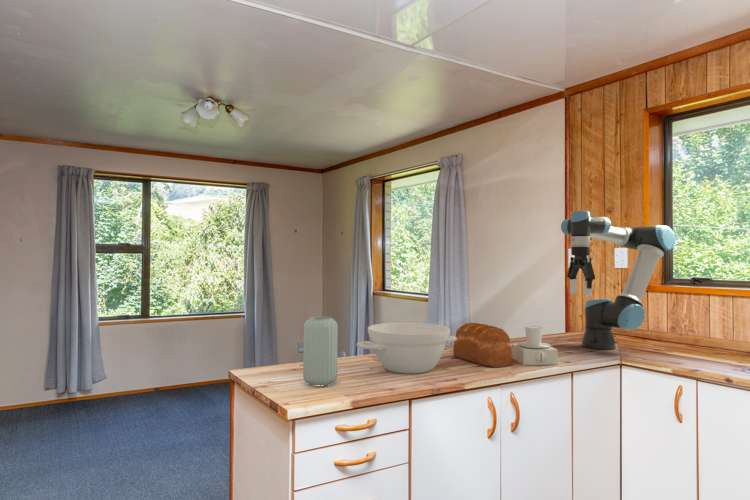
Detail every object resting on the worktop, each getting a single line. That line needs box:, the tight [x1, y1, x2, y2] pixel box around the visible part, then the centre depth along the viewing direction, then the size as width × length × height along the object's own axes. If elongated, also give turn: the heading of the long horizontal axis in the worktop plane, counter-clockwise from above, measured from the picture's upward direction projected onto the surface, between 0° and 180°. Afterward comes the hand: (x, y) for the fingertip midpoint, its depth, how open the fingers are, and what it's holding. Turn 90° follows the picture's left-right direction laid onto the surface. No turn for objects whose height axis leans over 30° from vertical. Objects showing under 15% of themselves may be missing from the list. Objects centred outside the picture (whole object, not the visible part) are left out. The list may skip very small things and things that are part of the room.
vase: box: [302, 316, 339, 386], centre depth 167 cm, size 12×12×22 cm
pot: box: [356, 321, 457, 375], centre depth 190 cm, size 44×32×16 cm
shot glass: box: [524, 325, 543, 345], centre depth 205 cm, size 7×7×7 cm
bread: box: [452, 322, 514, 368], centre depth 206 cm, size 14×26×16 cm, turn 27°
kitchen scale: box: [511, 340, 559, 366], centre depth 205 cm, size 15×14×7 cm
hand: (580, 295), depth 215 cm, fingers open, 13 cm apart
